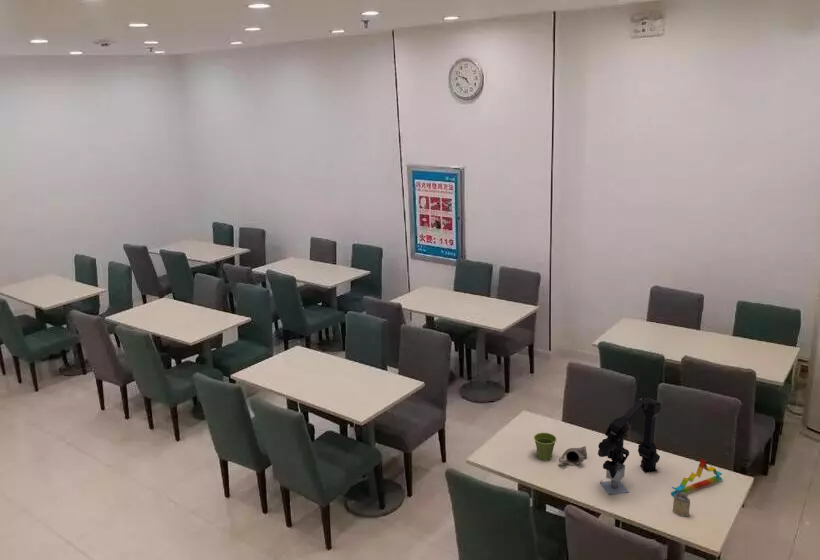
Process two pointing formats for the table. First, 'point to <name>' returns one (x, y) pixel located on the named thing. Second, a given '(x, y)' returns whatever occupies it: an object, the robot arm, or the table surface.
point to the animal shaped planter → (574, 456)
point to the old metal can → (681, 504)
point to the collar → (619, 473)
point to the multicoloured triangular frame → (699, 484)
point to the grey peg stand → (614, 487)
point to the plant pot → (544, 445)
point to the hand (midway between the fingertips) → (615, 474)
